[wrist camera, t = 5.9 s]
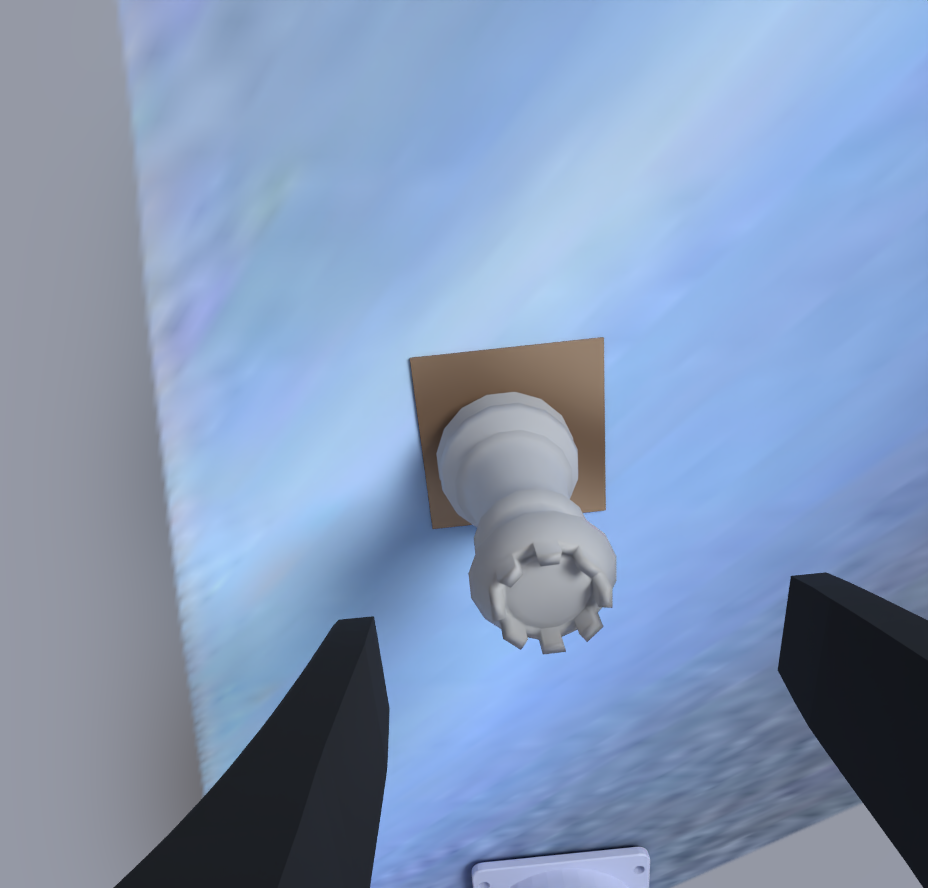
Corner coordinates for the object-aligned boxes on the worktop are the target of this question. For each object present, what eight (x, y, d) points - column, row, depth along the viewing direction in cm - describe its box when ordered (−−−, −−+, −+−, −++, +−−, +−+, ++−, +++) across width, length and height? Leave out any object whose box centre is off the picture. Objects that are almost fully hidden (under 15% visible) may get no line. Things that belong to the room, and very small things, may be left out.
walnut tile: (601, 502, 21) (605, 510, 20) (432, 520, 21) (432, 529, 20) (598, 334, 19) (603, 337, 18) (410, 354, 19) (409, 358, 18)
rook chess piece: (559, 516, 20) (635, 693, 13) (430, 508, 20) (433, 686, 13) (581, 392, 19) (683, 514, 11) (441, 381, 18) (452, 500, 11)
